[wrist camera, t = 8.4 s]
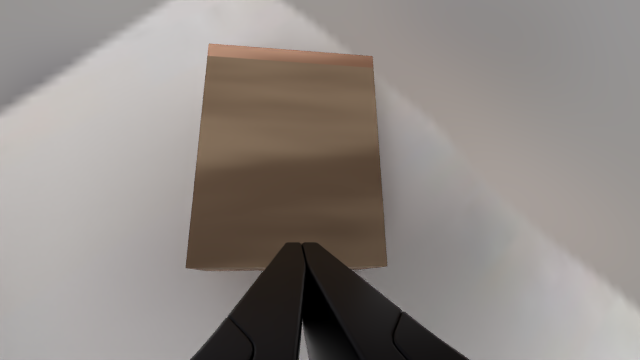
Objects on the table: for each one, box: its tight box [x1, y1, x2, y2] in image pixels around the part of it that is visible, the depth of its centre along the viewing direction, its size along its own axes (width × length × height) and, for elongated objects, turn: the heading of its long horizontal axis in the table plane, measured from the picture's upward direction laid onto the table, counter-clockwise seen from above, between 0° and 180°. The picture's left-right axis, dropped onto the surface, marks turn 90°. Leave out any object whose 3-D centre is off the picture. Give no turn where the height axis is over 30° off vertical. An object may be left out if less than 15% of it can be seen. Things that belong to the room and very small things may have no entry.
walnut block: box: [186, 44, 387, 271], centre depth 15 cm, size 4×7×9 cm
